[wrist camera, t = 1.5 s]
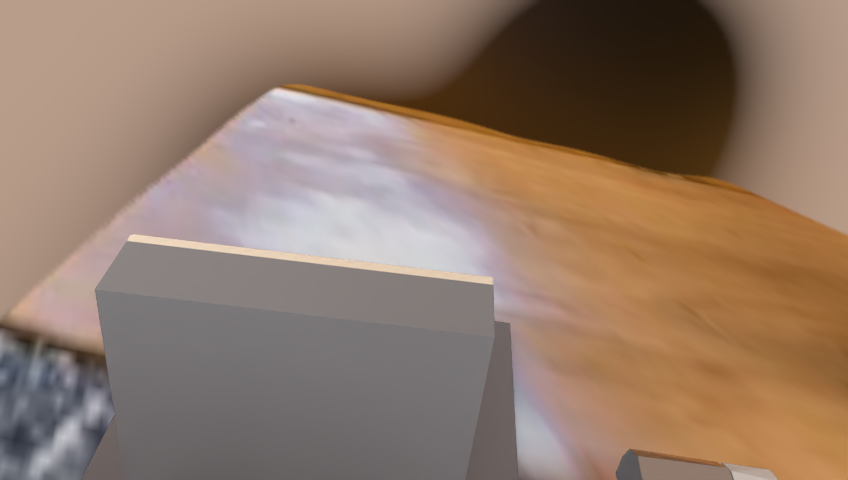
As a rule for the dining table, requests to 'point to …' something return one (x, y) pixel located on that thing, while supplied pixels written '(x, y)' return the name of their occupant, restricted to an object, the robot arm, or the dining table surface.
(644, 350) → the dining table surface
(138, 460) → the glazed tile
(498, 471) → the felt mat
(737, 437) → the dining table surface
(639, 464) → the robot arm
